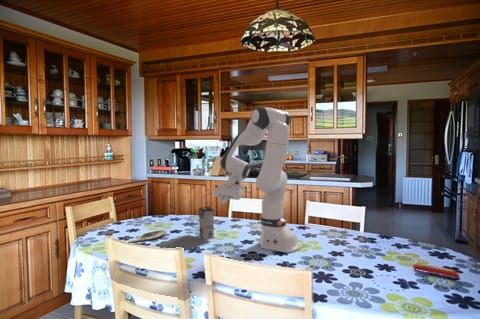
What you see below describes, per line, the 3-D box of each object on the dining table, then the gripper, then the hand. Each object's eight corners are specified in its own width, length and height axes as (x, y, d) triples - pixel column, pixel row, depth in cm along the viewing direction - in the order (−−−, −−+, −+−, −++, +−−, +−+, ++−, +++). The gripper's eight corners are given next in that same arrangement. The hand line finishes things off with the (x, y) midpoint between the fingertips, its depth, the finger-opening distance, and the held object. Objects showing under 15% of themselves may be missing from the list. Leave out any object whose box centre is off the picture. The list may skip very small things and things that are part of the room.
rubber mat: (210, 242, 171) (210, 241, 171) (176, 252, 155) (176, 252, 155) (188, 235, 183) (188, 234, 183) (155, 245, 167) (155, 244, 167)
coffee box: (199, 234, 184) (198, 207, 183) (209, 233, 187) (209, 206, 186) (203, 239, 176) (202, 210, 175) (214, 238, 178) (214, 209, 177)
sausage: (412, 271, 132) (412, 263, 132) (413, 268, 135) (414, 261, 135) (459, 281, 122) (459, 273, 122) (459, 277, 125) (460, 270, 125)
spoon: (113, 255, 157) (113, 251, 157) (103, 250, 164) (102, 246, 164) (170, 234, 184) (170, 231, 184) (159, 231, 191) (159, 228, 191)
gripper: (218, 180, 201) (207, 197, 195) (242, 183, 188) (231, 201, 181) (223, 186, 205) (212, 203, 198) (247, 189, 191) (236, 208, 185)
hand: (221, 202), depth 189 cm, fingers closed
